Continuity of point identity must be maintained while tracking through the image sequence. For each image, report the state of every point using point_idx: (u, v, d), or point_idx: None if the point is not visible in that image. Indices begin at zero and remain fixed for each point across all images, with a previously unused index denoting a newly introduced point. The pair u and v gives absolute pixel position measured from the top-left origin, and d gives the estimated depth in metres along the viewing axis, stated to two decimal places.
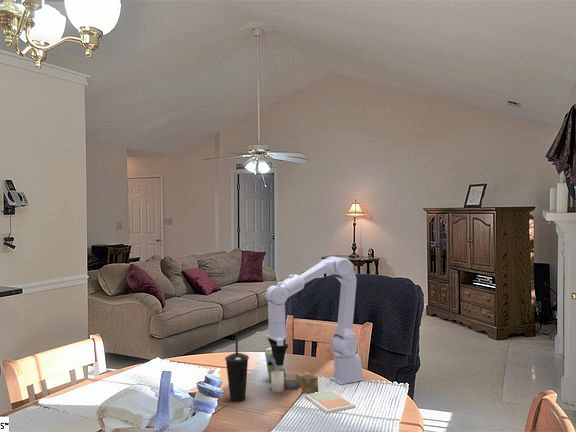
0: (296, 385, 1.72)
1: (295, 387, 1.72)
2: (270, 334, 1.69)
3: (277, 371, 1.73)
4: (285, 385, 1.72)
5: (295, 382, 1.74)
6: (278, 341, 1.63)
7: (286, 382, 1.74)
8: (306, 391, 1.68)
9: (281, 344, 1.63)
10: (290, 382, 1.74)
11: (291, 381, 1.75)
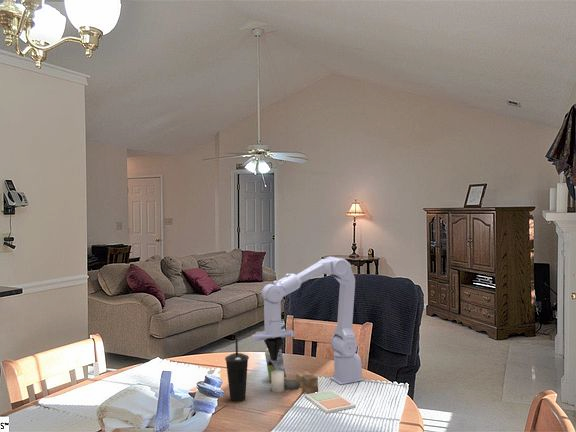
0: (296, 385, 1.72)
1: (295, 387, 1.72)
2: None
3: (277, 371, 1.73)
4: (285, 385, 1.72)
5: (295, 382, 1.74)
6: (252, 336, 1.69)
7: (286, 382, 1.74)
8: (306, 391, 1.68)
9: (253, 340, 1.68)
10: (290, 382, 1.74)
11: (291, 381, 1.75)
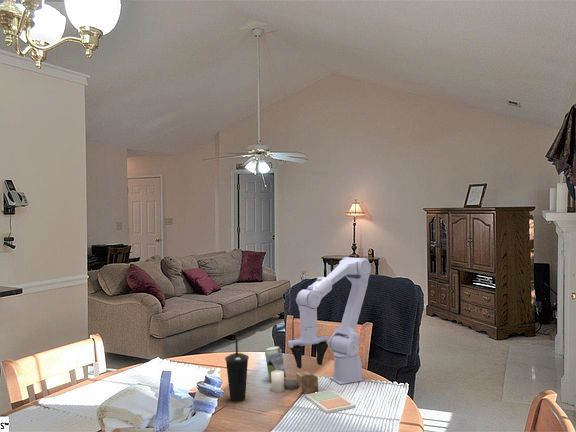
0: (296, 385, 1.72)
1: (295, 387, 1.72)
2: None
3: (277, 371, 1.73)
4: (285, 385, 1.72)
5: (295, 382, 1.74)
6: (288, 342, 1.67)
7: (286, 382, 1.74)
8: (306, 391, 1.68)
9: (289, 346, 1.66)
10: (290, 382, 1.74)
11: (291, 381, 1.75)
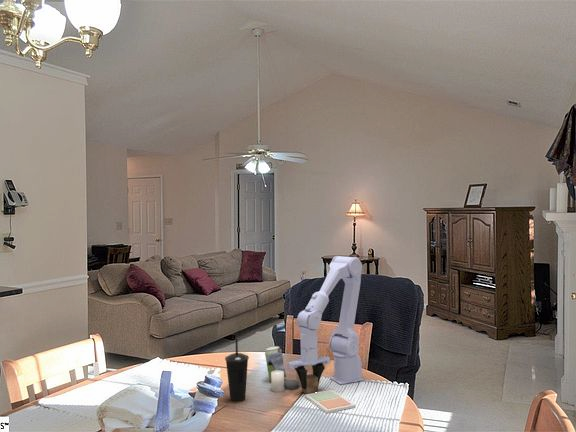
0: (296, 385, 1.72)
1: (295, 387, 1.72)
2: None
3: (277, 371, 1.73)
4: (285, 385, 1.72)
5: (295, 382, 1.74)
6: (289, 363, 1.67)
7: (286, 382, 1.74)
8: (306, 391, 1.68)
9: (290, 367, 1.66)
10: (290, 382, 1.74)
11: (291, 381, 1.75)
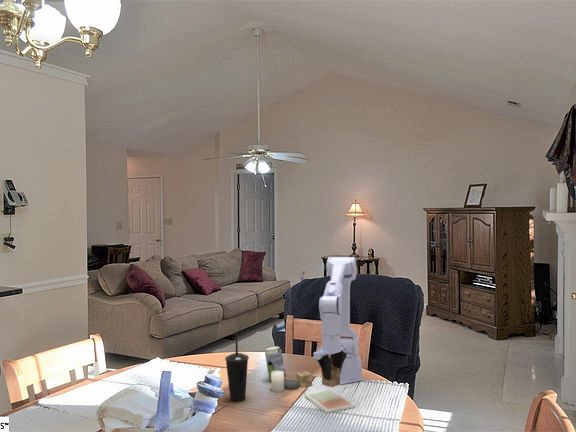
0: (295, 385, 1.72)
1: (294, 387, 1.72)
2: None
3: (277, 371, 1.73)
4: (285, 385, 1.73)
5: (295, 382, 1.74)
6: (314, 354, 1.53)
7: (286, 382, 1.74)
8: (329, 384, 1.55)
9: (316, 358, 1.52)
10: (290, 382, 1.74)
11: (291, 381, 1.75)
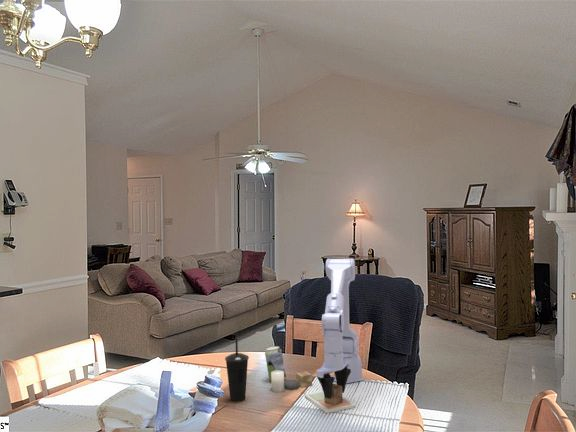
0: (295, 385, 1.72)
1: (294, 387, 1.72)
2: None
3: (277, 371, 1.73)
4: (285, 385, 1.73)
5: (295, 382, 1.73)
6: (317, 372, 1.52)
7: (286, 382, 1.74)
8: (332, 402, 1.54)
9: (319, 376, 1.51)
10: (290, 382, 1.74)
11: (291, 381, 1.75)
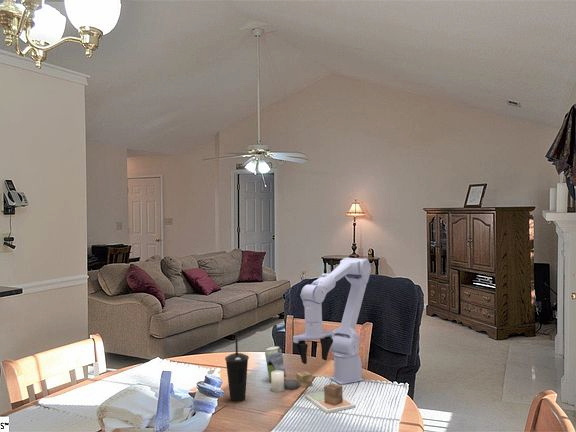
0: (295, 385, 1.72)
1: (294, 387, 1.72)
2: None
3: (277, 371, 1.73)
4: (284, 385, 1.73)
5: (295, 382, 1.73)
6: (293, 337, 1.66)
7: (286, 382, 1.74)
8: (332, 402, 1.54)
9: (294, 341, 1.65)
10: (290, 382, 1.74)
11: (291, 381, 1.75)
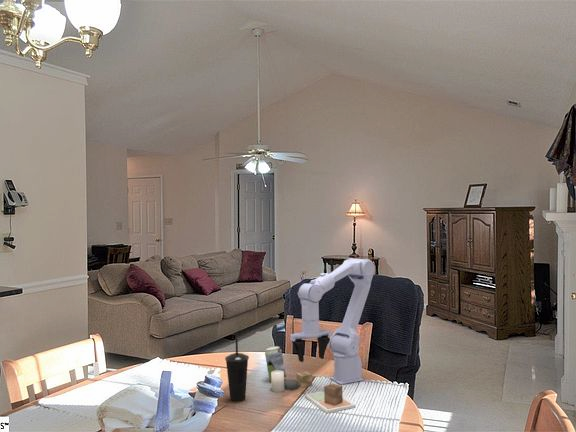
0: (294, 385, 1.72)
1: (293, 387, 1.72)
2: None
3: (277, 371, 1.73)
4: (284, 384, 1.73)
5: (295, 382, 1.73)
6: (290, 336, 1.68)
7: (286, 381, 1.74)
8: (332, 402, 1.54)
9: (291, 339, 1.67)
10: (290, 382, 1.74)
11: (292, 381, 1.75)
